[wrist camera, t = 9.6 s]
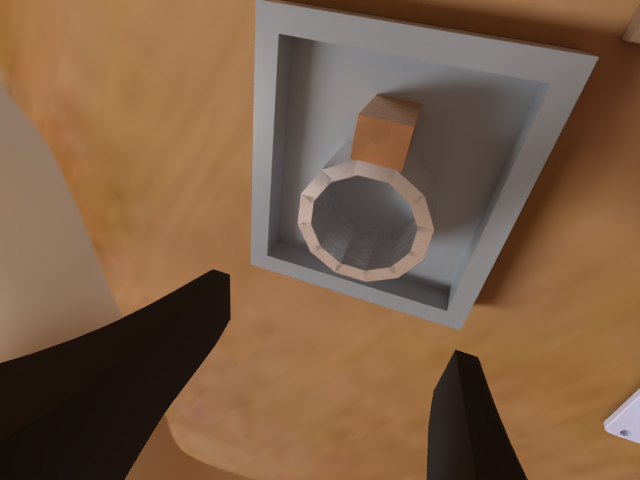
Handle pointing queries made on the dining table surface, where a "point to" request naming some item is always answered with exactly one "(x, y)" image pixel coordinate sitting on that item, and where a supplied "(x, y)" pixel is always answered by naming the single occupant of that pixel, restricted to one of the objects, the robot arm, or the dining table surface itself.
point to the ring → (384, 165)
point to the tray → (429, 139)
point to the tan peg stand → (633, 29)
